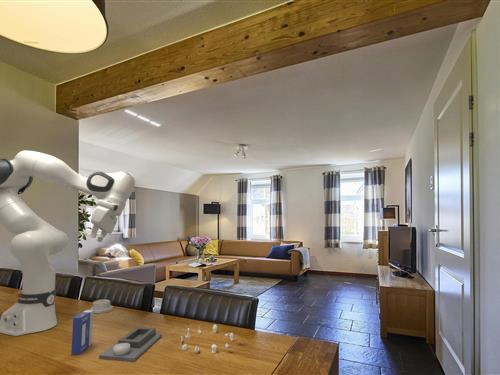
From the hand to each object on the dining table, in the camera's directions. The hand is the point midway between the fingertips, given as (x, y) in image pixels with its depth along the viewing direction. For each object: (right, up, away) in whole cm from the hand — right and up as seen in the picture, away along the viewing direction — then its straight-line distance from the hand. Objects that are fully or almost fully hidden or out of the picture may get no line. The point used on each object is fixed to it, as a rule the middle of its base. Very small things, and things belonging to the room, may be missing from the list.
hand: (95, 239), depth 121 cm
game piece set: (+46, -35, -12) cm, 59 cm away
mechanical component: (-9, -38, +23) cm, 45 cm away
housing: (+21, -34, -16) cm, 43 cm away
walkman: (+5, -34, -18) cm, 39 cm away
